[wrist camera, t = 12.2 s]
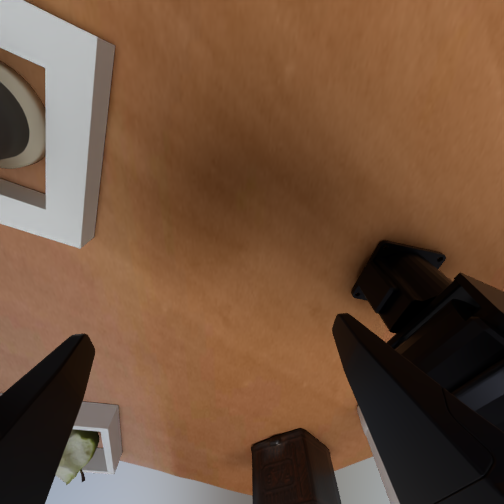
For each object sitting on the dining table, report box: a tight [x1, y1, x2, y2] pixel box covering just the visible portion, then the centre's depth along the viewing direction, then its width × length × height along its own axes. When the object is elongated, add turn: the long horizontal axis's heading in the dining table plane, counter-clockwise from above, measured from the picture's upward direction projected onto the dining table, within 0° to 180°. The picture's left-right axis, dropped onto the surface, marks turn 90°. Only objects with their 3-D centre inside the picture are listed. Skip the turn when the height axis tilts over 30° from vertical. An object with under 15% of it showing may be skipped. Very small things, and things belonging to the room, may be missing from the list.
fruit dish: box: [0, 393, 122, 474], centre depth 36 cm, size 16×16×3 cm
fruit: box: [56, 429, 99, 484], centre depth 34 cm, size 9×9×8 cm
